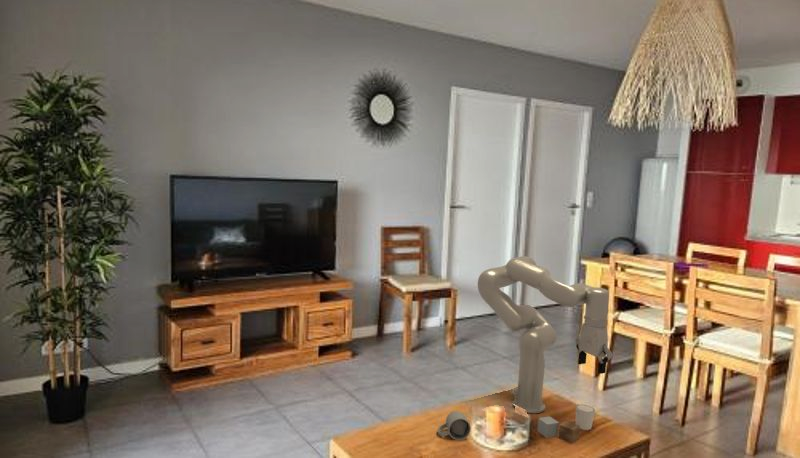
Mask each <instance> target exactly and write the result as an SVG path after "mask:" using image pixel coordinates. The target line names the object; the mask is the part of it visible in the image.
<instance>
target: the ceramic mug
mask: <svg viewBox="0 0 800 458" xmlns="http://www.w3.org/2000/svg"><path fill="white" fill-rule="evenodd" d="M470 423H471V422H469V420H468V419H467V417H466V415H465V414H464V413H462V412H461V411H458V410H454V411H451V412H449V414H447V416H446V418H445V423H443V424H441V425H440V426H438V427H437V430H436V431H437V434H438V435H439V436H440V437H446V436H450V437H451V438H452V439H453V440H456V441H463V440H465V439H466V438H468V437H469V435H470V433H471V428H472V427H471V424H470ZM446 428H447V430H445V431H443V430H444V429H446Z"/></svg>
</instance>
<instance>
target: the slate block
mask: <svg viewBox="0 0 800 458" xmlns="http://www.w3.org/2000/svg"><path fill="white" fill-rule="evenodd" d="M537 421H538V422H537V429H536V431H537V432H538V433H539V434H540V435H542V436H543V437H544V438H548V439H549V438H553V437H559V429H560V422H559V421H558V420H555V419H554V418H553V417H552V416H551V415H550V416H543V417H538V420H537Z"/></svg>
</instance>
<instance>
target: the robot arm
mask: <svg viewBox="0 0 800 458" xmlns="http://www.w3.org/2000/svg"><path fill="white" fill-rule="evenodd" d="M518 282H520V283H522V284H525V285H527V286H529V287H531V288H534V289H536V290H538V292H540V293H541V294H542V295H543V296H544V297H545V298H547V299H548V300H551V301H552V302H554V303H556V304H559V305H561V306H564V307H568V308H574V307H576V306H577V307H578V306H579V305H585V309H584V310H585V311H584V316H583V319H584V322H583V323H582V325H581V328H580V332H579V337H577V338H575V347H576V349H577V353H578V360H577V364H578V365H585V364H586V363H587V354H589V355H591V356H593V357H597V359H598V361H599V362H598V364H597V375H598V374H599V375H601V374H605V373H606V370H607V363H609V362H610V361H611V359H612V357H613V356H614V353H613V352H612V351H611V350H610V348H609V347H608V346H609V345H608V344H609V335H608V334H609V333H608V328H607V325H608V324H607V322H608V311H609V301H610V291H609V290H608V289H606V288H604V287H603V288H602V287H595V286H590V285H588V284H585V283H580V282H579V283H574V284H571V285H567V284H564V283H562V282H560V281H558V280H555V279H554V278H552V277H551V274H550V271H549V269H547V268H545V267H543V266H540V265H537V263H536V261H535V260H534V259H533V258H532V257H530V256H525V255H524V256H523V255H522V256H517V257H513V258H511V259H509V260H508V262H507V263H506V264H505V265H503V266H499V267H493V268H492V267H491V268H488V269H486V270H483V271H482V272H481V273H480V274H479V276H478V278H477V289H478V293H479V296H480V297H481V299H482V300H483V301H484V302H485V303H486V304H487V305H488V306H489V308H491V309H492V310H493V311H494V313H495V315H497V317H498V318H499V319H500V320H501V321H502V322H503V323H504V325H505V326H506V327H507V328H508V329H509V330H510V331H512V332H520V331H523V330H525V331H523V333H522V334H521V335H520V336H519V340H518V341H519V342H518V345H519V346H518V347H519V369H518V381H517V388H516V387H515V388H513V390H512V391H511V392H510V393H511V395H512V396H514V399H513V400H512V403H513V404H515V405H517V406H519V407H521V408H523V409H525V410H526V411H527V412H528V414H541V413H543V412H544V411H545V410H546V405H545V403H543V402H542V401H543V390H544V378H545V363H546V362H545V361H546V360H545V355H544V352H545V351H546V350H547V349H550V348H551V347H553V346H554V345H555V343H556V342H557V333H556V331H555V329H554V328H553V326H552V325H551V324H550V323H549V321H547V320H546V318H545V317H544V316H543V315H542V314H541V313H540V312H539V311H538V310H537V309H536V308H535V307H533V306H531V305H529V304H520V305H518V304H517V303H516V302H515V301H514V300H513V299H512V298H511V296H509V294H507V293H506V292H504V291H503V290H501V288H505V287H508V286H511V285H513V284H516V283H518Z"/></svg>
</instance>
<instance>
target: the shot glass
mask: <svg viewBox="0 0 800 458" xmlns="http://www.w3.org/2000/svg"><path fill="white" fill-rule="evenodd" d="M574 408H575V410H574V411H575V412H574V413H575V417H574V418H575V420H574V421H575V423H574V424H577V425H580V429H579V430H583V431H589V429H590V430H591V429H592V427H593V422H594V417H595V412H596V409H595V408H594V407H592V406H590V405H588V404H576V405H575V407H574Z"/></svg>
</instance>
